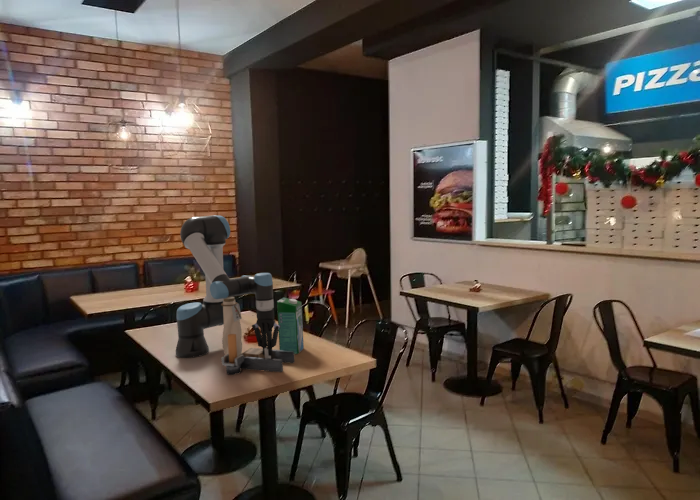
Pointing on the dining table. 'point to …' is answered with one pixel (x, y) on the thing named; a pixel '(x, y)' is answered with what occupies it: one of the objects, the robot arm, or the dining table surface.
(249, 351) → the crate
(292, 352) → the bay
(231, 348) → the handle peg
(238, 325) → the water bottle
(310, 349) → the dining table surface
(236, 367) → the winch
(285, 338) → the milk carton
